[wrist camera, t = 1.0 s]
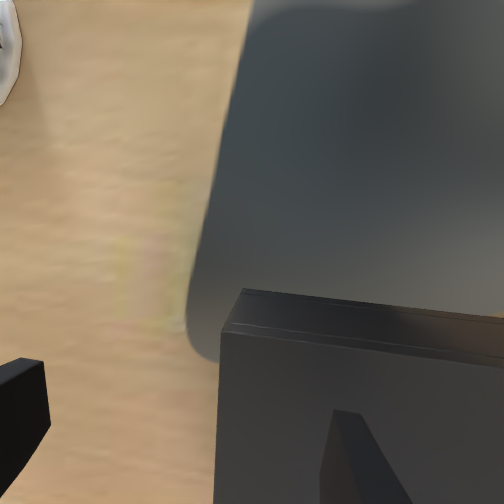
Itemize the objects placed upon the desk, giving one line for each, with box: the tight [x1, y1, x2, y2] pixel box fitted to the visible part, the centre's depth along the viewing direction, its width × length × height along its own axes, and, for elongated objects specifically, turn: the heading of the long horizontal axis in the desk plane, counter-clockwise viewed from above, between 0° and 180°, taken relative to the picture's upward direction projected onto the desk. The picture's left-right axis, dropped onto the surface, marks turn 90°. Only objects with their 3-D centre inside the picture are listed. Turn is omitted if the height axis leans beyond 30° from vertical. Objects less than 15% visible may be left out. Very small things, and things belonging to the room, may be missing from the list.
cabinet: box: [213, 288, 504, 504], centre depth 18 cm, size 15×14×5 cm
